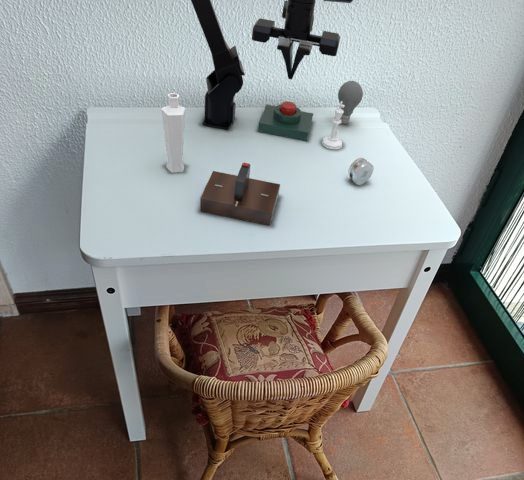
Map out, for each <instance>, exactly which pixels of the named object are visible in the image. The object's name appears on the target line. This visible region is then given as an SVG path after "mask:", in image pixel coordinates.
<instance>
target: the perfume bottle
mask: <svg viewBox="0 0 524 480" xmlns="http://www.w3.org/2000/svg"><path fill="white" fill-rule="evenodd" d="M179 97H180V94H178V93H175V92H170V93H168V94H167V99H168V105H165V106H164V107H161V116H162V117H161V118H162V126H163V133H164V142H165V148H166V150H165V151H166V158H167V161H166V166H165V167H166V169H167V170H168V171H169V172H170V173H173V174H174V173H183V172H184V169H185V163H184V160H183V159H184V140H185V121H186V119H185V118H186V107H184V106H182V105H180V104H179Z"/></svg>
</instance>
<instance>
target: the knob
mask: <svg viewBox="0 0 524 480" xmlns="http://www.w3.org/2000/svg"><path fill="white" fill-rule="evenodd" d="M250 173H251V164H250V163H247V162H245V161H244V162H242V163H241V165H240V168H239V171H238V173H237V175H236V176H237V178H236V181H235V193H234V199H236V200H241V201H242V200H243V197H244V194H245V191H246V189H247V186H248V183H249V178H250V176H251V175H250Z"/></svg>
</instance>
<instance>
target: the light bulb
mask: <svg viewBox="0 0 524 480" xmlns="http://www.w3.org/2000/svg"><path fill="white" fill-rule="evenodd" d="M363 96H364V91H363V88H362V85H361V84H360V83H359V82H357V81H355V80H347V81H345V82H344V83H343V84H342V85H341V86H340V87H339V89H338V92H337V100H338V104H340V102H341V101H342V105H345V106H344V108H342V107H341V109H342V110H343V111H344V113H343V114H342V116H341V118H340V120H341V121H342V123H341V124H343V125H345V124H349V123H350V119H351V116H352V114H354V110H356V108H357V107H358V105H360V104H361V102H362V100H363Z"/></svg>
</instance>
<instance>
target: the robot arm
mask: <svg viewBox="0 0 524 480" xmlns="http://www.w3.org/2000/svg"><path fill="white" fill-rule="evenodd" d="M190 1H191V2H190V3H191V4H192V6H193V10H194V12H195V15H196V17H197V19H198V22H199V24H200V27H201V30H202V32H203V35H204V38H205V40H206V43H207V46H208V48H209V51H210V54H211V58H212V63H213V68H214V69H213V71H212V72H210V73H209V74H208V75H207V76H206V77H205V81H206V88H207V91H206V93H205V95H204V119H203V120H202V125H203V126H208V127H212V128H217V129H223V130H230V129H231V126H232V125H233V124H234V122H235V120H236V106H237V103H236V101H235V96H236V94H238V93H239V92H240V91H241V90H242V88H243V86H244V78H243V76H246V73H245V69H244V67H243V62H242V61H241V60H240V58H239V52H238V50H237V46H236V45H233V46H232V47H230V46H229V44H228V43H227V41H226V38H225V36H224V34H223V31H222V28H221V25H220V22H219V18H218V16H217V14H216V11H215V8H214V6H213V2H212V0H190ZM323 1H324V2H329V3H330V2H331V3H341V4H342V3H343V4H352V2H353V1H354V0H323ZM316 2H317V0H284V2H283V7H282V13H281V18H282V19H285V20H284V27H283V28H281V27H277V26H275V25H276V22H275V20H270V19H266V18H258V19H257V20H256V21H255V23H254V25H253V27H252V32H251V40H252V41H253V42H258V43H262V44H263V43H264V44H266V43H267V42H268V41H269V40H270V39H271V38H273V39H274V38H275V39H277V41H278V42H277V43H278V44H277V45H276V50H278V51H281V55H282V58H283V60H284V65H285V70H286V74H287V78H288V80H293V78H294V76H295V74H296V71H297V69H298V67H299V65H300V64H301V62H302V60H303V59H304V58H305V56H310V55H311V52H312V49H313V46H315V47H318V50H319V52H320V54H321V55H324V56H330V57H337V53H338V50H339V46H340V42H341V36H340V33H339V32H338V33H337V32H333V31H328V30H323V31H322V33H321V35H317V34H311V32H312V31H313V27H314V21H315V8H316ZM294 42H295V43H298V46H297V49H296V51H295V55H294V59H293V54H294Z"/></svg>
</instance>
